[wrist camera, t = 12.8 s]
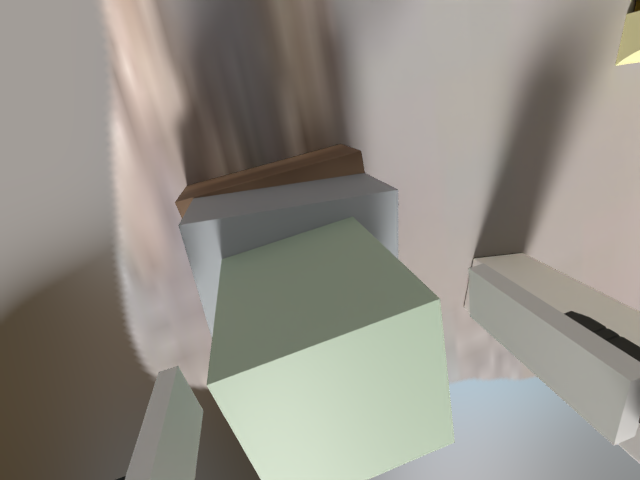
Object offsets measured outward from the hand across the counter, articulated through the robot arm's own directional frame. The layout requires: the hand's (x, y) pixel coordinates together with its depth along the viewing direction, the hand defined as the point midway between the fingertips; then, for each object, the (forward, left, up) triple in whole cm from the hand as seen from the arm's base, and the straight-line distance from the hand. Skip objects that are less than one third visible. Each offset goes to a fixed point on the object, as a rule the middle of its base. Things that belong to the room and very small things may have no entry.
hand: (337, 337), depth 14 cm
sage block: (0, -1, -4) cm, 4 cm away
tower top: (+1, -1, -9) cm, 9 cm away
